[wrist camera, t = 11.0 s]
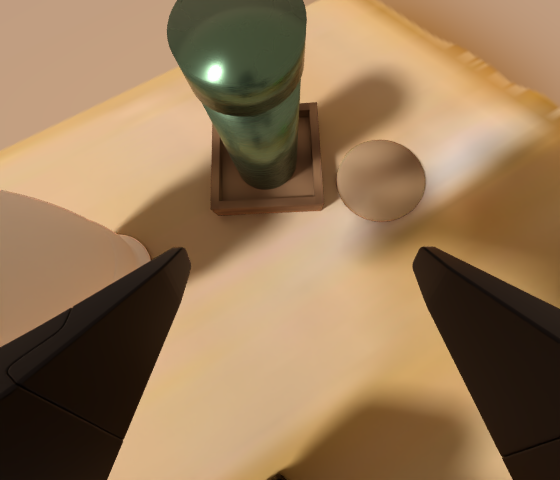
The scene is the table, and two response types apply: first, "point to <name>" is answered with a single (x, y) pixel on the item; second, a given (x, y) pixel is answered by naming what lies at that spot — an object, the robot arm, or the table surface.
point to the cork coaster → (380, 180)
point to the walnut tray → (287, 198)
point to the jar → (54, 261)
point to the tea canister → (246, 77)
